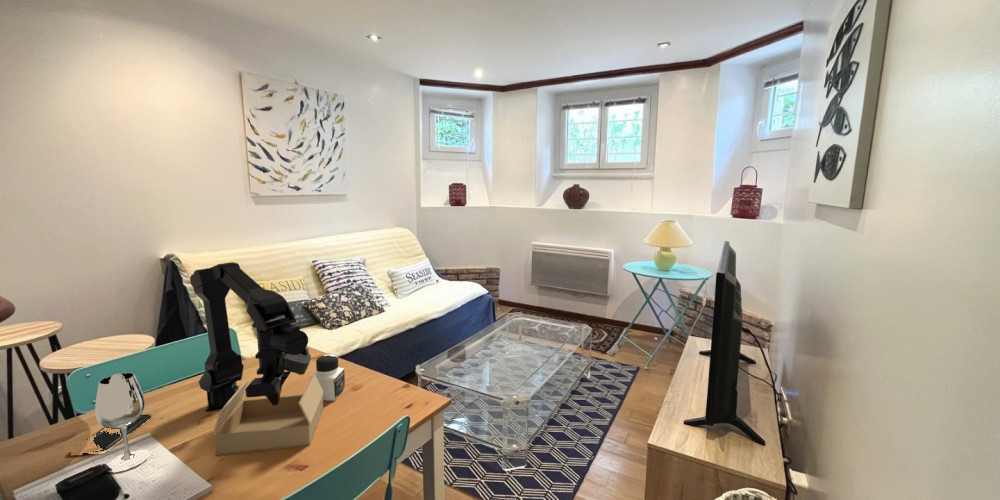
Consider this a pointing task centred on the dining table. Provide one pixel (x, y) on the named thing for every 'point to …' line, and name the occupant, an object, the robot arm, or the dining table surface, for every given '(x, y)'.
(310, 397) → the flap far
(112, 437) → the phone
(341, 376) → the medicine bottle
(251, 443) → the carton
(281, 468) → the dining table surface
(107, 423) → the wineglass
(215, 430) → the flap near
